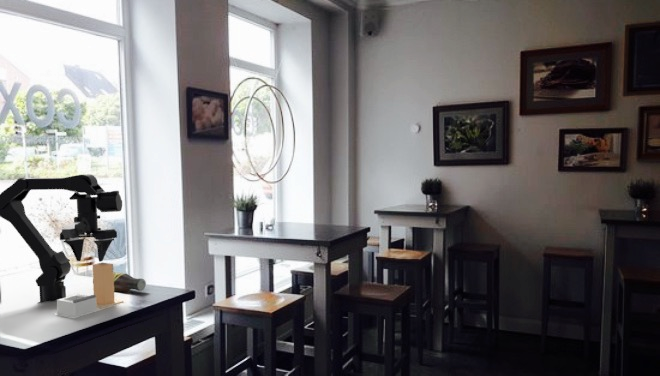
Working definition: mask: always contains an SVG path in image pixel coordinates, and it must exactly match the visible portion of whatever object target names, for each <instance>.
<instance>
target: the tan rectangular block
mask: <svg viewBox="0 0 660 376" xmlns="http://www.w3.org/2000/svg"><path fill="white" fill-rule="evenodd" d="M113 272H114V263H109V262H99V263H93V264H92V284H93V295H94V294H95V295H96V301H97V304H103V305H106V304H110V303H113V302H115V301H114V299H115V291H114V276H113Z"/></svg>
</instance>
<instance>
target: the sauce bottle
mask: <svg viewBox="0 0 660 376" xmlns="http://www.w3.org/2000/svg"><path fill="white" fill-rule="evenodd" d="M113 276H114V292H124V293H125V292H129V291H131V290H134V291H135V290H136V291H138V292H139V291H143V290H144V289H145V288H146V287H147V286H146V285H147V283H146V280H145V279H143V278H135V277H133V276H131V275H130V274H128V273H124V272H114V271H113Z"/></svg>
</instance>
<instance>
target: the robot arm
mask: <svg viewBox="0 0 660 376" xmlns="http://www.w3.org/2000/svg"><path fill="white" fill-rule="evenodd" d="M34 190H35V191H36V190H42V191H43V190H64V191H69V192H74V193H73V195H71V196H70V197H69V200H71V201H72V200H73V201H74V200H76V209H77V211H76V213H77V216H74V218H73V222H72V223H69V224H68V225H66V226H64V227H62V228H61V229H60V230H61V232H60V234H59V240H60V241H62V242H63V243H65V244H67V245H68V246H69V247H70V248H71V250H72V252H73V254H74V257H75V259H76V261H77V262H81V260H82V256H83V249H84V242H85V239H84V238H94V239H95V240H93V242H94V244H95V245H96V246H97V247H96V249H97V258H98V262H99V263H102V262H103V261H104V258H105V255H106V254H107V252H108V249H109V248H110V246H111V244H112V242H113V241H115V239H116V238H118V231H117V230H116V229H114V228H112V229H111V228H108V229H102V228H101V227H99V225H98V219H99V220H100V219H101V215H98V210H99V211H100V213H113V212H116V213H117V212H121V211H122V209H123V200H122V197H121V195H120V191H119V190H112V191H105V190H104V188H102V187H101V185H100V184H99V182H98V179H97V178H96V176H95V175H93V174H90V173H88V174H86V173H85V174H77V175H72V176H66V177H50V178H49V177H43V178H42V177H39V178H38V177H35V178H34V177H33V178H31V177H19V178H18V179H16V181H14V182H13V183H12V184H11V185H10V186H9V187H7V188H6V189H5V190H3V191H2V192H0V218H1V219H3V220H5V221H6V222H9V223H10V224H11V225H12V227H13V228H14V229H15V230H16V231H17V233H18V234H19V235H20V237H21V238H22V239H23V241H24V242H25V244H27V246H28V247H29V248H30V250H31V251H32V253H34V255H35V256H36V257H37V259H38V262H39V268H40V270H41V271H42V273H41V274H40V275H39V276H38V277H37V278H36V279H35V282H36V286H37V287H39V288H38V289H39V301H38V302H37V304H40V303H44V302H55V301H57V300H58V299H62V298H65V297H67V293H66V285H65V282H64V280H65V279H66V277H67V275H69V273H70V272H71V269H72V268H71V267H72V265H71V263H70V261H71V260H70V259H69V258H68V257H67V256H66V254H65V252H64V251H63V250H62V251H58V252H57V251H55V250H54V249H52V247H51V246H50V244H49V243H48V242H47V241H46V239H45V238H44V237H43V236H42V234H41V233H40V232H39V230H38V229H37V228H36V226H35V225H34V224H33V223H32V221H31V220H30V219H29V218H28V216H27V215H26V210H25V205H24V204H23V200H25V198H27V196H28V194H29V193H30V191H34Z"/></svg>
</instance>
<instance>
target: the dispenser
mask: <svg viewBox="0 0 660 376" xmlns="http://www.w3.org/2000/svg"><path fill="white" fill-rule="evenodd" d="M114 301H115V302H113V303H110V304H106V305H103V304H97V301H96V295H95V294H94V293H93V294H92V295H85V294H80V293H77V294H73V295H70V296H66V297H65V298H62V299H58V300H56V309H57V310H56V312H55V313H53V315H55V316H60V317H64V318H68V319H76V318H79V317H84V316H86V315H89V314H93V313H95V312H99V311H102V310H105V309H108V308H113V307H115V306H117V305H118V306H119V305H121V304H124V303H126V301H124V300H120V299H115V298H114Z"/></svg>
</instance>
